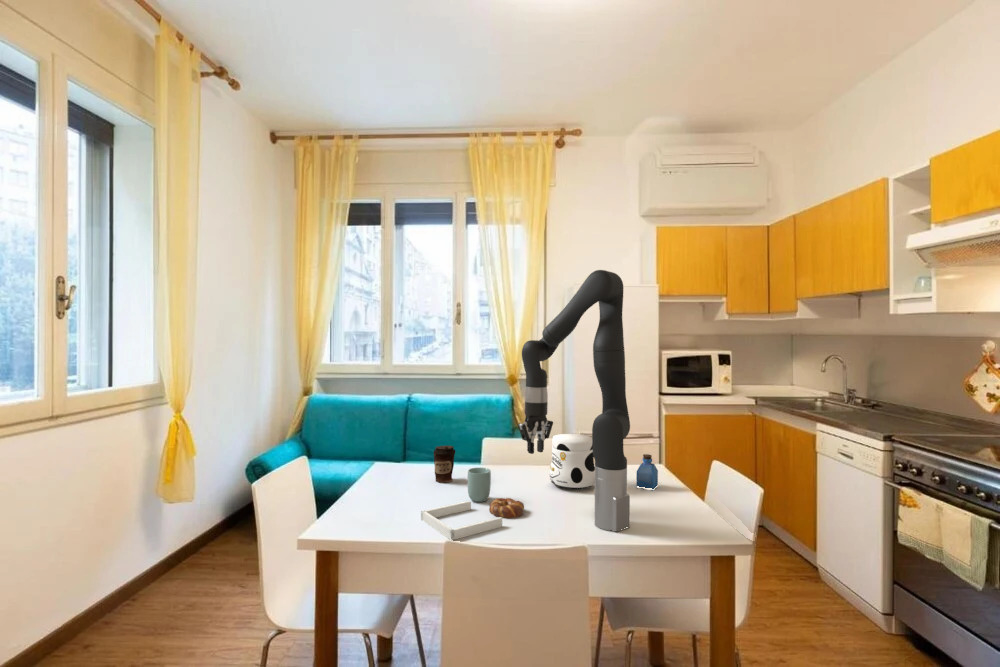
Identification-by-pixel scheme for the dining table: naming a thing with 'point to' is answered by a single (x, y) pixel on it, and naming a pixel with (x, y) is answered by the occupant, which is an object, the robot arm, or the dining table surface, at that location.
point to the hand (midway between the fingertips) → (535, 452)
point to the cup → (479, 484)
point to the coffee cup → (444, 463)
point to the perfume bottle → (647, 473)
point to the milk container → (572, 461)
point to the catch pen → (460, 532)
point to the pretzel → (506, 508)
